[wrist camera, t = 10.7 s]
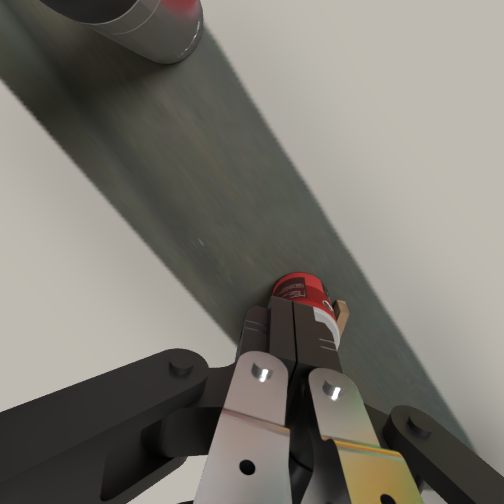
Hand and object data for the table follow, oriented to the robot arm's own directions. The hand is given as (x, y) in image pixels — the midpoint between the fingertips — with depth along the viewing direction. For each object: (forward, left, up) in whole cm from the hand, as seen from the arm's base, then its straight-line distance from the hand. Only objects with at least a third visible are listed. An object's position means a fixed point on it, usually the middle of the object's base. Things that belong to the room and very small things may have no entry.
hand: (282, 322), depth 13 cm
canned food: (+12, -11, -35) cm, 39 cm away
